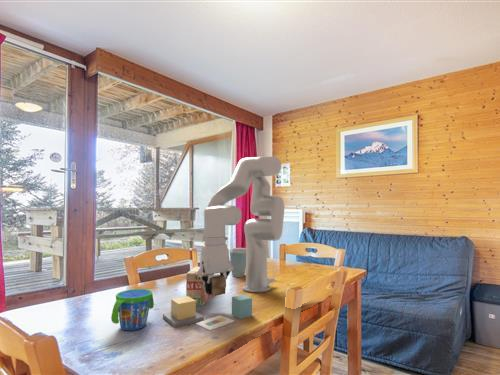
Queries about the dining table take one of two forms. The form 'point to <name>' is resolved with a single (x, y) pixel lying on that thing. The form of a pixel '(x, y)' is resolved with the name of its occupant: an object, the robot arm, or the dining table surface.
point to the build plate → (184, 321)
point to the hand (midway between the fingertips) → (215, 291)
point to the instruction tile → (214, 322)
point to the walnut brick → (217, 285)
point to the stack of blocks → (196, 287)
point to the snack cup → (132, 308)
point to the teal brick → (242, 306)
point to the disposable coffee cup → (238, 261)
